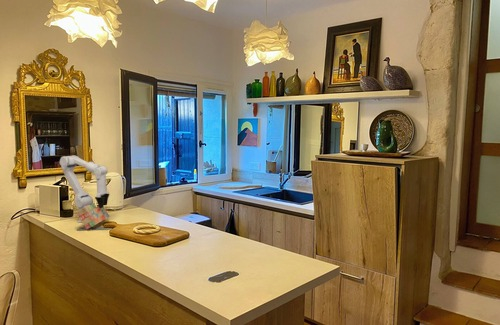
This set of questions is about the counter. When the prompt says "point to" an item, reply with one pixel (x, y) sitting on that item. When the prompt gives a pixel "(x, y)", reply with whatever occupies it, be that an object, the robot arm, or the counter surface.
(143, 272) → the counter surface
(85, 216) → the patterned cardboard box
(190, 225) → the counter surface
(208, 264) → the counter surface
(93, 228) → the strip
